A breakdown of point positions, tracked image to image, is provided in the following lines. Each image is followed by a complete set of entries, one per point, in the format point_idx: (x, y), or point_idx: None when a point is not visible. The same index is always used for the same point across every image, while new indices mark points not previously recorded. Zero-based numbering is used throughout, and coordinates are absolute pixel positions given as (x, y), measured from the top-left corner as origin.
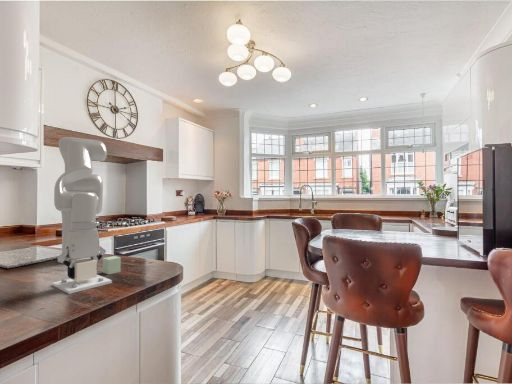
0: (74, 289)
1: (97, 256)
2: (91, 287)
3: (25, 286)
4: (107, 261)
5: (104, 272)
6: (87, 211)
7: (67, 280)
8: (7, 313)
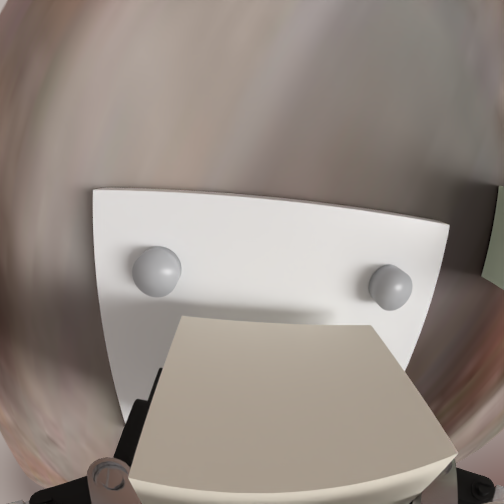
0: None
1: (462, 497)
2: None
3: (28, 56)
4: None
5: (498, 218)
6: None
7: (199, 244)
8: None
